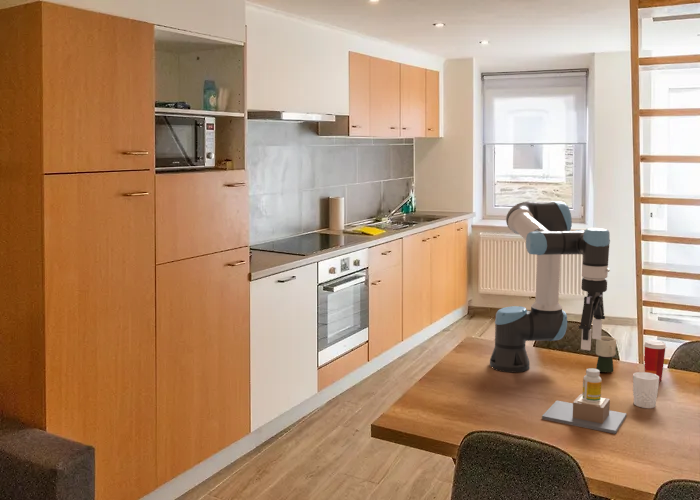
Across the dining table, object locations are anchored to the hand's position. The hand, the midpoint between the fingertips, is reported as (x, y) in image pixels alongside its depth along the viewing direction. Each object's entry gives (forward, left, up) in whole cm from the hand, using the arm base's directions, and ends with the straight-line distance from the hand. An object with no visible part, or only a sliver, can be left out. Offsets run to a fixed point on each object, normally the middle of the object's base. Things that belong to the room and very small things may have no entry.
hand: (591, 344), depth 215 cm
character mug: (-5, +47, -23) cm, 52 cm away
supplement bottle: (+2, -4, -17) cm, 17 cm away
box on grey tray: (0, -4, -23) cm, 23 cm away
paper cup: (+12, +47, -23) cm, 53 cm away
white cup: (+14, +18, -23) cm, 32 cm away
